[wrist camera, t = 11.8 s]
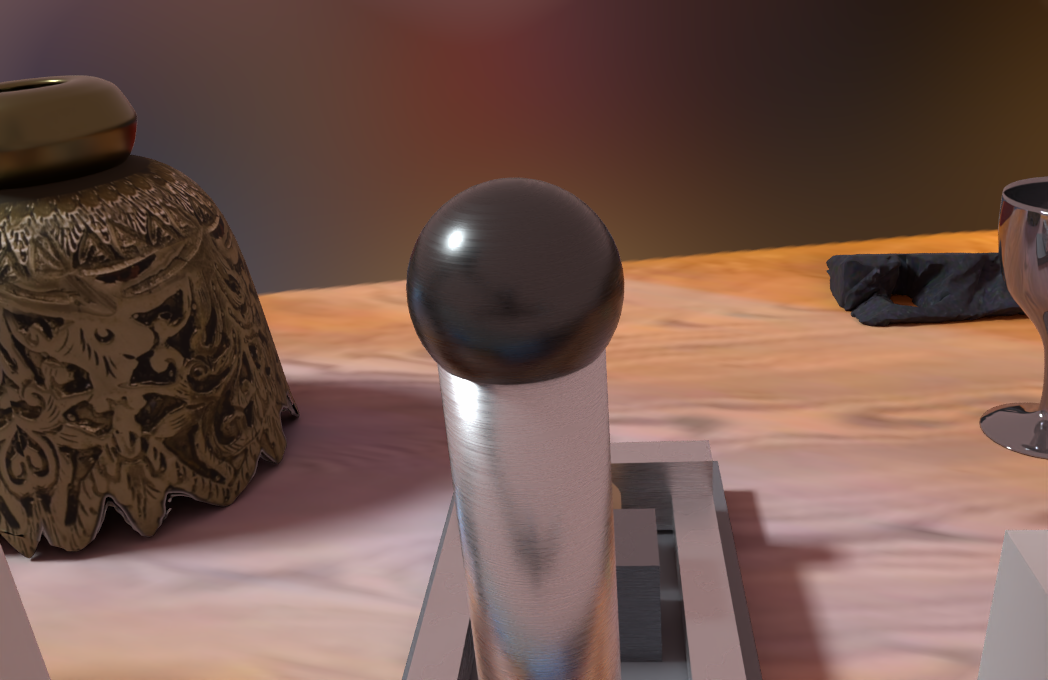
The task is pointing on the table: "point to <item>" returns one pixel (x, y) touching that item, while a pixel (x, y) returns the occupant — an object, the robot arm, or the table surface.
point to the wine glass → (1024, 307)
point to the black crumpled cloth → (920, 287)
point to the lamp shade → (118, 327)
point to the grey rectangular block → (638, 585)
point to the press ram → (546, 450)
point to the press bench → (664, 604)
